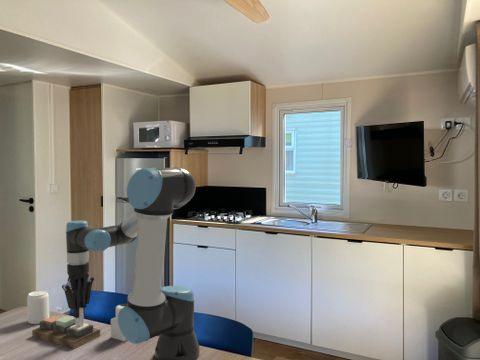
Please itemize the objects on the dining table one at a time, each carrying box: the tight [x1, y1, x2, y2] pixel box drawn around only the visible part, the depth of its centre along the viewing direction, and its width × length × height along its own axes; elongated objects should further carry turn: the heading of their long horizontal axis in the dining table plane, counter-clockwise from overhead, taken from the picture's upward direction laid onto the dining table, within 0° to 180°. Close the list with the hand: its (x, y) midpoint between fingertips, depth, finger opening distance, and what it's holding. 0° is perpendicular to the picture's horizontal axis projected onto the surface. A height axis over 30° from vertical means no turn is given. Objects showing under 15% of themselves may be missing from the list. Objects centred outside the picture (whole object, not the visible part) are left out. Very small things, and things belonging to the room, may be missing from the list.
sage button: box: [56, 315, 75, 327], centre depth 153 cm, size 5×5×2 cm
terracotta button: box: [43, 315, 61, 324], centre depth 156 cm, size 5×5×2 cm
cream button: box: [70, 322, 91, 331], centre depth 149 cm, size 5×5×2 cm
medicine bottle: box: [110, 303, 128, 342], centre depth 153 cm, size 7×7×12 cm
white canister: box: [26, 290, 50, 325], centre depth 168 cm, size 8×8×12 cm
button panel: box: [31, 315, 101, 350], centre depth 153 cm, size 23×12×5 cm, turn 62°
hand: (79, 325), depth 149 cm, fingers closed
